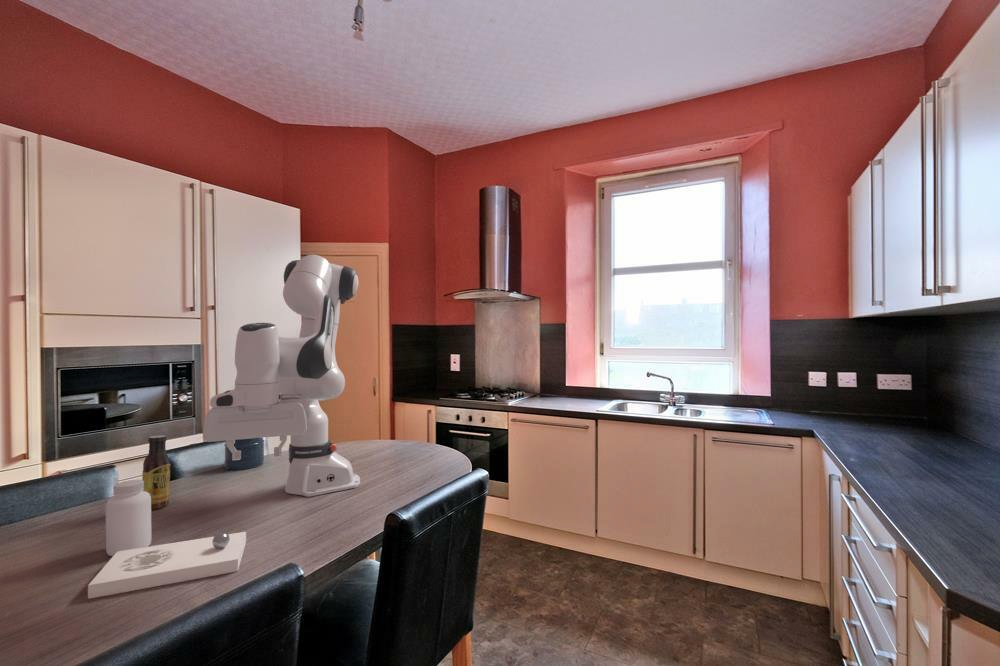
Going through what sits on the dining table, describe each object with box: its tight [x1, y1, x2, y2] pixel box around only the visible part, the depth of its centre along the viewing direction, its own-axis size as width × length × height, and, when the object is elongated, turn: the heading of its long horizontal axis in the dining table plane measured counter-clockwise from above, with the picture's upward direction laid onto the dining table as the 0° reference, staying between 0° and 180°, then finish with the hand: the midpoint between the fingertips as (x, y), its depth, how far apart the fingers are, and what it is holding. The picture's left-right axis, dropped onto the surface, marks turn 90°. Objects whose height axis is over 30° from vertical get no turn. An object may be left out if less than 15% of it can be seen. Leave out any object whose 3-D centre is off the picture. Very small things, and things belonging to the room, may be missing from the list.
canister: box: [223, 438, 265, 471], centre depth 167 cm, size 13×13×18 cm
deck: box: [87, 531, 247, 600], centre depth 94 cm, size 24×14×2 cm, turn 114°
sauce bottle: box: [141, 434, 171, 511], centre depth 127 cm, size 7×6×20 cm
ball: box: [212, 532, 230, 549], centre depth 97 cm, size 3×3×3 cm
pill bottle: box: [105, 479, 152, 557], centre depth 102 cm, size 8×8×15 cm
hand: (257, 457), depth 100 cm, fingers open, 7 cm apart
